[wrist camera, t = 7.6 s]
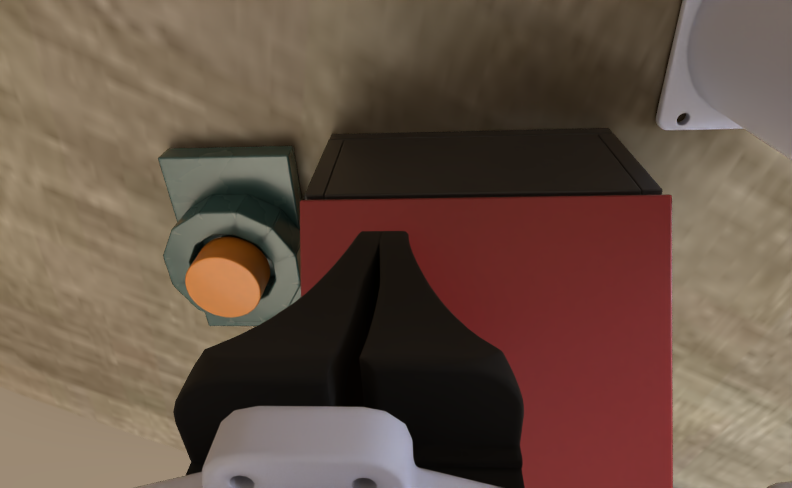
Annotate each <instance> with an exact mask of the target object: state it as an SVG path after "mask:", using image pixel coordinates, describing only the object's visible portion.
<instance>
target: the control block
mask: <svg viewBox="0 0 792 488" xmlns="http://www.w3.org/2000/svg"><path fill="white" fill-rule="evenodd" d="M158 160H159V163H160V167H161V170H162V173H163V176H164V180H165V183H166V186H167V190H168V193H169V196H170V199H171V203H172V206H173V209H174V212H175V216H176V219H177V222H178V223H177V224H176V225H175V226H174V227H173V229H172V230H171V233H170V236H169V239H168V242H167V245H166V248H165V251H164V254H163V256H164V260H165V263H166V266H167V269H168V272H169V275H170V278H171V281H172V284H173V285H174V287H175V288H176V289H177V290H178V291H179V292H180V293H181V294H182V295H184V296H185V297H186V298H187V299H188V300H189V301H190V302H191V303H192V304H193V305H194V306H195V307H196V308H197V309H198V310H201V311H203V312H205V314H206V317H207V321H208V324H209V326H258V325H260V324H262V323H264V322H265V321H267V320H269V319H270V318H272V317H274V316H275V315H277V314H278V313H280V312H281V311H283V310H284V309H286V308H287V307H289V306H290V305H292V304H293V303H294V302H296V301H297V300H298V299H299V298H301V262H300V201H301V200H302V199H301V193H300V187H299V180H298V174H297V167H296V161H295V154H294V148H293V146H261V147H215V148H169V149H167V150H166V151H165V152H164V153H163V154H162V155H161V156H160V157H159V158H158ZM220 237H236V238H240V239H243V240H246V241H248V242H250V243H252V244H253V245H255V246H256V247H257V248H258V249H259V250H260V251H261V252H262V253H263V254H264V255H265V257H266V259H267V261H268V263H269V266H270V278H269V281H268V283H267V285H266V288H265V290H264V292H263V295H262V297H261V299H260V301H259V303H258V305H257V306H256V308H255V309H254V310H252V311H251V312H249V313H248V314H246V315H243V316H240V317H222V316H218V315H214V314H212V313H210V312H207V311H206V310H204V309H202V308H201V307H200V306H198V305H197V304H196V303H195V302H194V301H193V299H192V298H191V297H190V295H189V293H188V291H187V289H186V284H185V277H186V273H187V271H188V269H189V267H190V266H191V264H192V263H193V261H194V260H195V258H196V257H197V255H198V254H199V252H200V251H201V249H202V248H203V247H204V246H205V245H206V244H207V243H208V242H209V241H211V240H213V239H216V238H220Z"/></svg>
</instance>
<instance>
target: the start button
mask: <svg viewBox="0 0 792 488" xmlns="http://www.w3.org/2000/svg"><path fill="white" fill-rule="evenodd" d="M269 278H270V266H269V263H268V261H267V259H266V257H265V255H264V254H263V253H262V252H261V251H260V250H259V249H258V248H257V247H256V246H255V245H253V244H252V243H250V242H248V241H246V240H243V239H240V238H236V237H220V238H216V239H213V240H211V241H209V242H208V243H207V244H206V245H205V246H204V247H203V248H202V249H201V251H200V252H199V254H198V255H197V257H196V258H195V260H194V261H193V263H192V264H191V266H190V267H189V269H188V271H187V273H186V277H185V284H186V289H187V291H188V293H189V295H190V297H191V298H192V299H193V301H194V302H195V303H196V304H197V305H198V306H200V307H201V308H202V309H204V310H206V311H207V312H210V313H212V314H214V315H218V316H222V317H240V316H243V315H246V314H248V313H249V312H251V311H252V310H254V309H255V308H256V306H257V305H258V303H259V301H260V299H261V297H262V295H263V292H264V290H265V288H266V285H267V283H268V281H269Z"/></svg>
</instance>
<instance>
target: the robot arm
mask: <svg viewBox="0 0 792 488" xmlns="http://www.w3.org/2000/svg"><path fill="white" fill-rule="evenodd" d="M683 113H686V117H685V119H684V120H682V121H681V122H677V118H678V116H679V115H681V114H683ZM656 123H657V125H658V126H659V127H660V128H662V129H663V130H712V129H745V130H747V131H748V132H750V133H751V134H753V135H754V136H756V137H757V138H759V139H760V140H762V141H763V142H765V143H766V144H768V145H769V146H771V147H773V148H774V149H776V150H777V151H779V152H780V153H782V154H783V155H785V156H786V157H788V158H789V159H791V160H792V0H683V1H682V5H681V10H680V14H679V18H678V23H677V27H676V32H675V36H674V40H673V45H672V49H671V53H670V58H669V62H668V66H667V71H666V75H665V80H664V84H663V88H662V93H661V97H660V101H659V106H658V110H657V114H656ZM173 412H174V417H175V422H176V425H177V428H178V430H179V433H180V435H181V438H182V440H183V443H184V445H185V448H186V450H187V452H188V455H189V457H190V460H191V464H190V466H189V469H188V471H187V473H186V476H182V477H177V478H173V479H169V480H165V481H160V482H156V483H152V484H147V485H143V486H139V487H135V488H525V486H524V480H523V475H522V469H521V468H522V465H523V460H522V454H521V448H520V441H521V433H522V426H523V418H524V403H523V398H522V394H521V391H520V388H519V385H518V383H517V380H516V378H515V375H514V373H513V371H512V369H511V367H510V365H509V363H508V361H507V359H506V357H505V355H504V353H503V352H502V351H501V350H500V349H498V348H497V347H495V346H493V345H492V344H490V343H488V342H487V341H485V340H484V339H482V338H480V337H479V336H477V335H476V334H475V333H473V332H472V331H471V330H470V329H468V328H467V327H466V326H465V325H464V324H463V323H462V322H461V321H460V320H459V319H457V318H456V317H455V316H454V315H453V314H452V313H451V312H450V310H449V309H448V308H447V307H446V306H445V305H444V304H443V302H442V301H441V300H440V299H439V297H438V296H437V295H436V293H435V292H434V291H433V289H432V288H431V286H430V285H429V283H428V281H427V280H426V278H425V277H424V275H423V273H422V271H421V269H420V267H419V265H418V263H417V261H416V259H415V257H414V254H413V252H412V249H411V246H410V242H409V234H408V233H407V232H406V231H361V232H360V233H359V234H358V235H357V237H356V238H355V239H354V241H353V242H352V243H351V245H350V246H349V247H348V249H347V250H346V251H345V252H344V254H343V255H342V256H341V257H340V259H339V260H338V261H337V262H336V263H335V264H334V266H333V267H332V268H331V269H330V270H329V271H328V272H327V273H326V274H325V275H324V276H323V277H322V278H321V279H320V280H319V281H318V282H317V283H316V284H315V285H314V286H313V287H312V288H311V289H310V290H309V291H308V292H307V293H306V294H304V295H303V296H302V297H301V298H299V299H298V300H297V301H296V302H294V303H293V304H292V305H290V306H289V307H287V308H286V309H284V310H283V311H281V312H280V313H278V314H277V315H275V316H274V317H272V318H270V319H269V320H267V321H265V322H264V323H262V324H260V325H258V326H256V327H254V328H253V329H251V330H249V331H247V332H245V333H243V334H241V335H238V336H236V337H234V338H232V339H229V340H227V341H224V342H222V343H220V344H217V345H215V346H212V347H210V348H207V349H205V350H204V351H203V353H202V355H201V356H200V358H199V359H198V361H197V362H196V363H195V365H194V367H193V369H192V370H191V372H190V374H189V376H188V378H187V380H186V382H185V384H184V386H183V388H182V389H181V391H180V393H179V395H178V397H177V399H176V401H175V406H174V411H173ZM767 488H792V482H781V483H775V484H773V485H771V486H768V487H767Z"/></svg>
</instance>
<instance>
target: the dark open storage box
mask: <svg viewBox="0 0 792 488" xmlns="http://www.w3.org/2000/svg"><path fill="white" fill-rule="evenodd" d="M661 194H662V189H661V188H660V186H659V185H658V184H657V183H656V182H655V181H654V180H653V178H652V177H651V176H650V175H649V174H648V173H647V171H646V170H645V169H644V168H643V167H642V166H641V165H640V163H639V162H638V161H637V160H636V159H635V158H634V156H633V155H632V154H631V153H630V152H629V151H628V150H627V148H626V147H625V146H624V145H623V144H622V143H621V141H620V140H619V139H618V138H617V137H616V136H615V135H614V134H613V133H612V131H611V130H610V129H609V128H591V129H547V130H504V131H461V132H417V133H374V134H332V135H331V137H330V139H329V140H328V143H327V145H326V147H325V150H324V152H323V154H322V156H321V159H320V161H319V163H318V166H317V168H316V170H315V173H314V175H313V177H312V179H311V182H310V184H309V186H308V189H307V191H306V193H305V196H304V197H305V200H338V199H405V198H471V197H538V196H605V195H661Z"/></svg>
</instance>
